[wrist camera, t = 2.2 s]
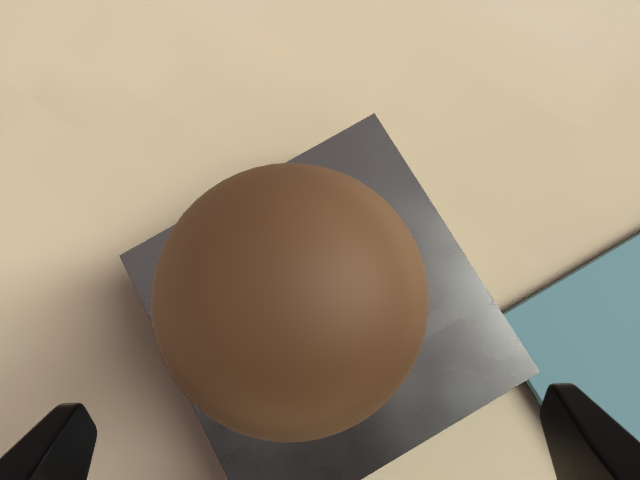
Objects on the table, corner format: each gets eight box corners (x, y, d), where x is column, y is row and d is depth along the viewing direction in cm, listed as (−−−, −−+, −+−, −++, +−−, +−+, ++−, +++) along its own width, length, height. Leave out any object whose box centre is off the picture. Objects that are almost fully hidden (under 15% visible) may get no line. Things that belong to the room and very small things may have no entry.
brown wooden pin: (307, 379, 19) (191, 566, 4) (262, 296, 19) (34, 222, 5) (389, 331, 19) (536, 360, 5) (342, 250, 19) (339, 54, 5)
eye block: (276, 493, 18) (258, 540, 14) (164, 269, 20) (119, 255, 16) (497, 361, 18) (539, 372, 14) (368, 154, 20) (374, 113, 16)
